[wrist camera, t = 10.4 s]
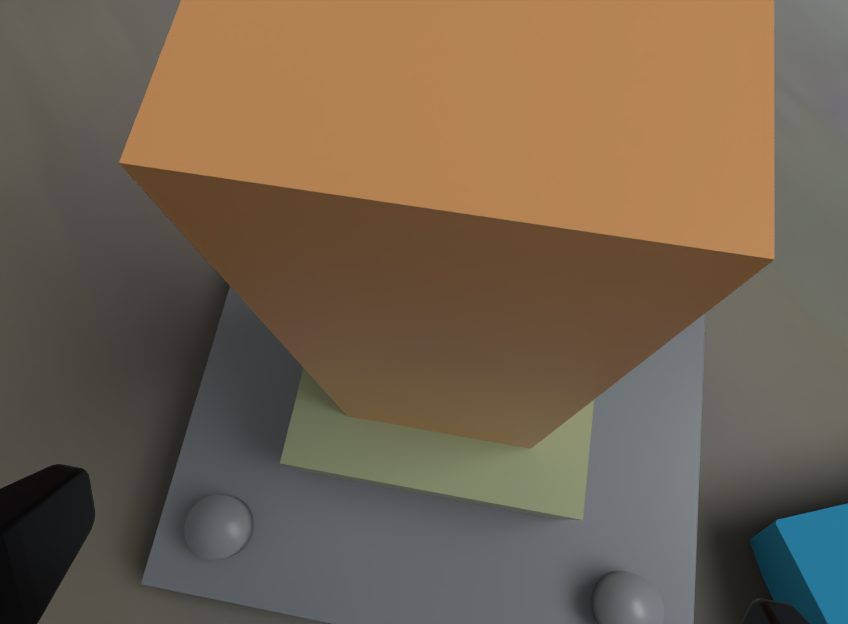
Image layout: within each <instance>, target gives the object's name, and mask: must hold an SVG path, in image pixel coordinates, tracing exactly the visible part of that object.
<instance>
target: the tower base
mask: <svg viewBox="0 0 848 624" xmlns="http://www.w3.org/2000/svg"><path fill="white" fill-rule="evenodd" d="M704 337H705V314H704V315H702V316H701V317H700V318H698V319H697V320H696V321H695V322H693V323H692V324H691V325H689V326H688V327H687V328H686V329H684V330H683V331H682V332H680V333H679V334H678V335H677V336H675V337H674V338H673V339H671V340H670V341H669V342H668V343H666V344H665V345H664V346H662V347H661V348H660V349H659V350H657V351H656V352H655V353H653V354H652V355H651V356H650V357H648V358H647V359H646V360H644V361H643V362H642V363H641V364H639V365H638V366H637V367H635V368H634V369H633V370H632V371H630V372H629V373H628V374H626V375H625V376H624V377H623V378H621V379H620V380H619V381H617V382H616V383H615V384H614V385H612V386H611V387H610V388H608V389H607V390H606V391H605V392H603V393H602V394H601V395H599V396H598V397H597V398H596V399H594V400H593V401H592V402H590V403H589V404H588V405H587V406H585V407H584V408H583V409H581V410H580V411H579V412H578V413H576V414H575V415H574V416H572V417H571V418H570V419H569V420H567V421H566V422H565V423H563V424H562V425H561V426H560V427H558V428H557V429H556V430H554V431H553V432H552V433H551V434H549V435H548V436H547V437H545V438H544V439H543V440H542V441H540V442H539V443H538V444H536V445H535V446H534V447H533V448H525V447H520V446H514V445H508V444H503V443H497V442H491V441H486V440H480V439H474V438H469V437H463V436H457V435H452V434H446V433H440V432H435V431H429V430H423V429H418V428H412V427H406V426H400V425H395V424H389V423H383V422H378V421H372V420H366V419H361V418H355V417H349V416H347V415H346V414H345V413H344V412H343V411H342V410H341V409H340V408H339V407H338V405H337V404H336V403H335V402H334V401H333V400H332V399H331V398H330V397H329V395H328V394H327V393H326V392H325V391H324V390H323V389H322V388H321V387H320V385H319V384H318V383H317V382H316V381H315V380H314V379H313V378H312V377H311V375H310V374H309V373H308V372H307V371H306V370H305V369H304V368H303V367H302V365H301V364H300V363H299V362H298V361H297V360H296V359H295V358H294V357H293V355H292V354H291V353H290V352H289V351H288V350H287V349H286V348H285V347H284V345H283V344H282V343H281V342H280V341H279V340H278V339H277V338H276V337H275V335H274V334H273V333H272V332H271V331H270V330H269V329H268V328H267V327H266V325H265V324H264V323H263V322H262V321H261V320H260V319H259V318H258V317H257V316H256V314H255V313H254V312H253V311H252V310H251V309H250V308H249V307H248V306H247V304H246V303H245V302H244V301H243V300H242V299H241V298H240V297H239V296H238V294H237V293H236V292H235V291H234V290H233V289H232V288H231V287H229V291H228V294H227V297H226V301H225V304H224V307H223V311H222V314H221V317H220V321H219V324H218V328H217V331H216V334H215V338H214V341H213V344H212V348H211V351H210V354H209V358H208V361H207V364H206V368H205V371H204V374H203V378H202V381H201V384H200V388H199V391H198V394H197V398H196V401H195V404H194V408H193V411H192V414H191V418H190V421H189V424H188V428H187V431H186V435H185V438H184V441H183V445H182V448H181V451H180V455H179V458H178V461H177V465H176V468H175V471H174V475H173V478H172V481H171V485H170V488H169V491H168V495H167V498H166V501H165V505H164V508H163V511H162V515H161V518H160V521H159V525H158V528H157V532H156V535H155V538H154V542H153V545H152V548H151V552H150V555H149V558H148V562H147V565H146V568H145V572H144V575H143V578H142V582H141V584H142V585H147V586H152V587H157V588H162V589H166V590H171V591H176V592H181V593H186V594H191V595H195V596H200V597H205V598H210V599H215V600H220V601H224V602H229V603H234V604H239V605H244V606H249V607H253V608H258V609H263V610H268V611H273V612H278V613H282V614H287V615H292V616H297V617H302V618H307V619H311V620H316V621H321V622H326V623H331V624H694V598H695V572H696V546H697V520H698V494H699V467H700V441H701V415H702V389H703V363H704Z"/></svg>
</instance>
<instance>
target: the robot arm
mask: <svg viewBox="0 0 848 624" xmlns="http://www.w3.org/2000/svg"><path fill="white" fill-rule="evenodd" d="M94 519H95V508H94V502H93V496H92V490H91V484H90V479H89V475H88V473H87V472H86V471H85V470H84V469H82V468H78V467H72V466H67V465H62V464H56V465H52V466H49V467H47V468H45V469H43V470H40V471H38V472H36V473H34V474H32V475H30V476H27V477H25V478H23V479H21V480H19V481H16V482H14V483H12V484H10V485H8V486H5V487H3V488H1V489H0V624H37V623H38V622H39V620H40V618H41V617H42V615H43V613H44V611H45V610H46V608H47V606H48V604H49V603H50V601H51V599H52V597H53V596H54V594H55V592H56V590H57V589H58V587H59V585H60V583H61V582H62V580H63V578H64V576H65V575H66V573H67V571H68V569H69V568H70V566H71V564H72V562H73V561H74V559H75V557H76V555H77V554H78V552H79V550H80V548H81V547H82V545H83V543H84V541H85V540H86V538H87V536H88V534H89V533H90V531H91V529H92V526H93V523H94ZM741 624H811V623H810V622H809V621H808V620H807V619H806V618H805V617H804V616H803V615H802V614H801V613H800V612H799V611H798V610H797V609H795V608H794V607H793V606H791V605H790V604H787V603H783V602H778V601H773V600H768V599H762V598H759V599H756V600H754V601H753V602H752V603H751V605H750V607H749V609H748V610H747V612H746V614H745V616H744V618H743V620H742V622H741Z"/></svg>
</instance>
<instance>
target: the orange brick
mask: <svg viewBox="0 0 848 624" xmlns="http://www.w3.org/2000/svg"><path fill="white" fill-rule="evenodd" d="M119 163H120V164H121V166H122V167H123V168H124V169H125V170H126V171H127V172H128V173H129V174H130V176H131V177H132V178H133V179H134V180H135V181H136V182H137V183H138V184H139V186H140V187H141V188H142V189H143V190H144V191H145V192H146V193H147V194H148V196H149V197H150V198H151V199H152V200H153V201H154V202H155V203H156V204H157V206H158V207H159V208H160V209H161V210H162V211H163V212H164V213H165V214H166V216H167V217H168V218H169V219H170V220H171V221H172V222H173V223H174V224H175V226H176V227H177V228H178V229H179V230H180V231H181V232H182V233H183V234H184V236H185V237H186V238H187V239H188V240H189V241H190V242H191V243H192V244H193V246H194V247H195V248H196V249H197V250H198V251H199V252H200V253H201V254H202V256H203V257H204V258H205V259H206V260H207V261H208V262H209V263H210V264H211V266H212V267H213V268H214V269H215V270H216V271H217V272H218V273H219V274H220V276H221V277H222V278H223V279H224V280H225V281H226V282H227V283H228V284H229V286H230V287H231V288H232V289H233V290H234V291H235V292H236V293H237V294H238V296H239V297H240V298H241V299H242V300H243V301H244V302H245V303H246V304H247V306H248V307H249V308H250V309H251V310H252V311H253V312H254V313H255V314H256V316H257V317H258V318H259V319H260V320H261V321H262V322H263V323H264V324H265V325H266V327H267V328H268V329H269V330H270V331H271V332H272V333H273V334H274V335H275V337H276V338H277V339H278V340H279V341H280V342H281V343H282V344H283V345H284V347H285V348H286V349H287V350H288V351H289V352H290V353H291V354H292V355H293V357H294V358H295V359H296V360H297V361H298V362H299V363H300V364H301V365H302V367H303V368H304V369H305V370H306V371H307V372H308V373H309V374H310V375H311V377H312V378H313V379H314V380H315V381H316V382H317V383H318V384H319V385H320V387H321V388H322V389H323V390H324V391H325V392H326V393H327V394H328V395H329V397H330V398H331V399H332V400H333V401H334V402H335V403H336V404H337V405H338V407H339V408H340V409H341V410H342V411H343V412H344V413H345V414H346V415H347V416H349V417H355V418H361V419H366V420H372V421H378V422H383V423H389V424H395V425H400V426H406V427H412V428H418V429H423V430H429V431H435V432H440V433H446V434H452V435H457V436H463V437H469V438H474V439H480V440H486V441H491V442H497V443H503V444H508V445H514V446H520V447H525V448H533V447H534V446H535V445H536V444H538V443H539V442H540V441H542V440H543V439H544V438H545V437H547V436H548V435H549V434H551V433H552V432H553V431H554V430H556V429H557V428H558V427H560V426H561V425H562V424H563V423H565V422H566V421H567V420H569V419H570V418H571V417H572V416H574V415H575V414H576V413H578V412H579V411H580V410H581V409H583V408H584V407H585V406H587V405H588V404H589V403H590V402H592V401H593V400H594V399H596V398H597V397H598V396H599V395H601V394H602V393H603V392H605V391H606V390H607V389H608V388H610V387H611V386H612V385H614V384H615V383H616V382H617V381H619V380H620V379H621V378H623V377H624V376H625V375H626V374H628V373H629V372H630V371H632V370H633V369H634V368H635V367H637V366H638V365H639V364H641V363H642V362H643V361H644V360H646V359H647V358H648V357H650V356H651V355H652V354H653V353H655V352H656V351H657V350H659V349H660V348H661V347H662V346H664V345H665V344H666V343H668V342H669V341H670V340H671V339H673V338H674V337H675V336H677V335H678V334H679V333H680V332H682V331H683V330H684V329H686V328H687V327H688V326H689V325H691V324H692V323H693V322H695V321H696V320H697V319H698V318H700V317H701V316H702V315H704V314H705V313H706V312H707V311H709V310H710V309H711V308H713V307H714V306H715V305H716V304H718V303H719V302H720V301H722V300H723V299H724V298H725V297H727V296H728V295H729V294H731V293H732V292H733V291H734V290H736V289H737V288H738V287H740V286H741V285H742V284H743V283H745V282H746V281H747V280H749V279H750V278H751V277H752V276H754V275H755V274H756V273H758V272H759V271H760V270H761V269H763V268H764V267H765V266H767V265H768V264H769V263H770V262H772V261H773V260H774V0H181V2H180V5H179V7H178V10H177V13H176V15H175V18H174V20H173V23H172V26H171V28H170V31H169V34H168V36H167V39H166V41H165V44H164V47H163V49H162V52H161V54H160V57H159V60H158V62H157V65H156V67H155V70H154V73H153V75H152V78H151V80H150V83H149V86H148V88H147V91H146V94H145V96H144V99H143V101H142V104H141V107H140V109H139V112H138V114H137V117H136V120H135V122H134V125H133V127H132V130H131V133H130V135H129V138H128V141H127V143H126V146H125V148H124V151H123V154H122V156H121V159H120V161H119Z"/></svg>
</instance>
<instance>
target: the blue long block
mask: <svg viewBox="0 0 848 624" xmlns="http://www.w3.org/2000/svg"><path fill="white" fill-rule="evenodd" d="M750 544H751V547H752V549H753V552H754V555H755V558H756V560H757V563H758V566H759V569H760V572H761V574H762V577H763V580H764V582H765V584H766V586H767V588H768V590H769V592H770V594H771V596H772V598H773V600H774V601H778V602H783V603H787V604H790V605H791V606H793V607H794V608H795V609H797V610H798V611H799V612H800V613H801V614H802V615H803V616H804V617H805V618H806V619H807V620H808V621H809V622H810V623H811V624H848V503H847V504H843V505H839V506H834V507H830V508H826V509H821V510H817V511H813V512H808V513H804V514H800V515H795V516H791V517H787V518H782V519H778V520H776V521H775V522H773V523H772V524H771V525H769V526H768V527H766V528H765V529H764V530H762V531H761V532H759V533H758V534H757V535H755V536H754V537H753V538H751V540H750Z"/></svg>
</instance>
